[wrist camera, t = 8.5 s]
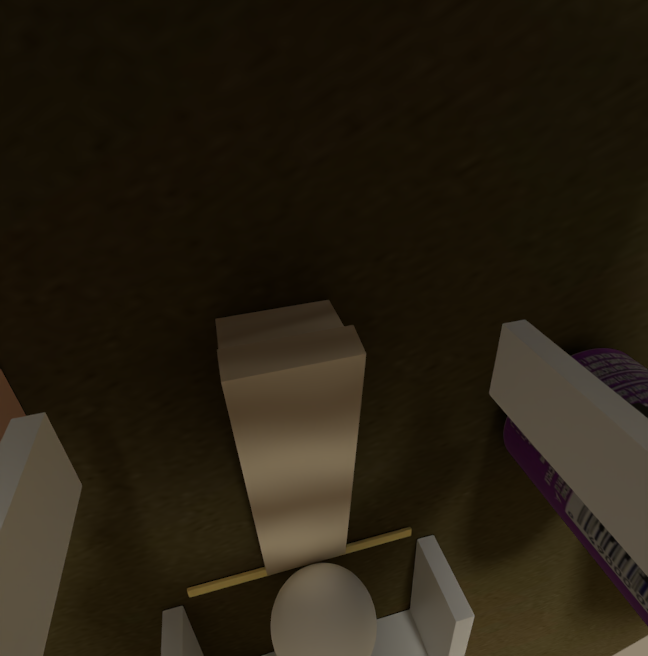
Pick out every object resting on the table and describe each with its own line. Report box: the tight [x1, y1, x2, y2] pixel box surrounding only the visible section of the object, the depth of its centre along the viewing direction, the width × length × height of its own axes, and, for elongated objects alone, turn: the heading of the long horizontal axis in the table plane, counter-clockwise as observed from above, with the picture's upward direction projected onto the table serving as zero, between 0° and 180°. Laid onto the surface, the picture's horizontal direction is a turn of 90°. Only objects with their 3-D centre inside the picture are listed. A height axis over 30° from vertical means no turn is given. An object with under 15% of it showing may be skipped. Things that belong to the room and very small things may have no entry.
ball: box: [270, 563, 377, 656], centre depth 22 cm, size 5×5×5 cm
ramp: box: [215, 300, 366, 576], centre depth 18 cm, size 15×4×4 cm, turn 3°
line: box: [187, 527, 412, 598], centre depth 24 cm, size 1×12×1 cm, turn 93°
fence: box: [161, 535, 475, 656], centre depth 25 cm, size 9×15×4 cm, turn 93°
